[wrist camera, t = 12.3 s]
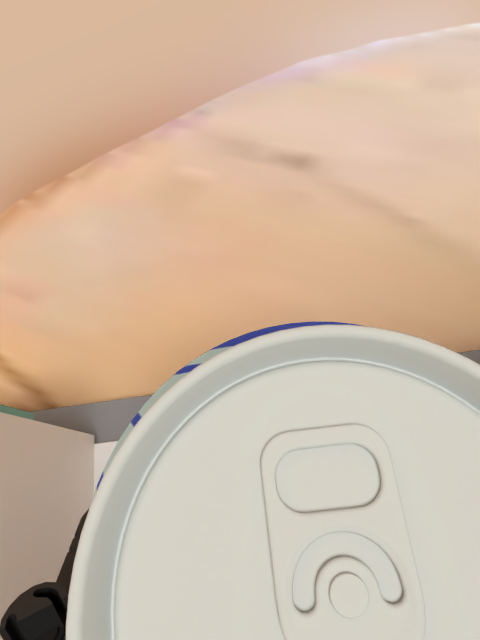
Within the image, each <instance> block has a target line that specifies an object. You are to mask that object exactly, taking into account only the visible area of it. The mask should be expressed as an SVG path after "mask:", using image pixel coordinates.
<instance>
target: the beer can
mask: <svg viewBox="0 0 480 640" xmlns="http://www.w3.org/2000/svg"><path fill="white" fill-rule="evenodd" d="M66 640H480V365H479V364H477V363H476V362H474V361H472V360H470V359H469V358H467V357H465V356H462V355H460V354H458V353H456V352H454V351H452V350H450V349H447V348H445V347H443V346H440V345H437V344H435V343H432V342H429V341H427V340H424V339H421V338H418V337H414V336H411V335H407V334H404V333H400V332H396V331H391V330H386V329H380V328H375V327H367V326H361V325H356V324H348V323H338V322H302V323H290V324H285V325H279V326H273V327H268V328H265V329H261V330H257V331H254V332H250V333H247V334H245V335H242V336H239V337H237V338H234V339H231V340H229V341H227V342H225V343H223V344H221V345H219V346H217V347H215V348H213V349H211V350H209V351H208V352H206V353H204V354H203V355H201V356H199V357H198V358H196V359H194V360H193V361H192V362H190V363H189V364H188V365H186V366H185V367H183V368H182V369H181V370H179V371H178V372H177V373H176V374H174V375H173V376H172V377H171V378H170V379H169V380H168V381H167V382H165V383H164V384H163V385H162V386H161V387H160V388H159V389H158V390H157V391H156V392H155V393H154V394H153V395H152V397H151V398H150V399H149V400H148V401H147V402H146V403H145V404H144V405H143V407H142V408H141V409H140V411H139V412H138V413H137V414H136V416H135V417H134V418H133V419H132V421H131V422H130V424H129V425H128V427H127V428H126V430H125V431H124V433H123V434H122V436H121V437H120V439H119V441H118V442H117V444H116V446H115V448H114V450H113V452H112V454H111V455H110V457H109V459H108V461H107V463H106V466H105V468H104V470H103V472H102V475H101V477H100V479H99V482H98V484H97V487H96V490H95V493H94V496H93V499H92V502H91V505H90V508H89V511H88V514H87V517H86V520H85V523H84V526H83V529H82V532H81V536H80V540H79V544H78V548H77V552H76V556H75V560H74V564H73V570H72V576H71V582H70V588H69V594H68V606H67V618H66Z"/></svg>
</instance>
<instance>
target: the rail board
mask: <svg viewBox="0 0 480 640" xmlns="http://www.w3.org/2000/svg"><path fill="white" fill-rule="evenodd" d="M458 354H460V355H462V356H465V357H467V358H469V359H470V360H472V361H474V362H476V363H477V364H479V365H480V350H475V351H468V352H461V353H458ZM151 397H152V395H148V396H141V397H134V398H127V399H119V400H112V401H105V402H97V403H90V404H83V405H76V406H68V407H61V408H54V409H47V410H39V411H32V412H26V411H23V410H19V409H15V408H12V407H8V406H4V405H1V404H0V623H1V619H2V617H3V615H4V614H5V612H6V611H7V609H8V607H9V606H10V605H11V604H12V603H13V601H14V600H15V599H16V598H17V597H18V596H19V595H20V594H22V593H23V592H25V591H26V590H28V589H29V588H31V587H32V586H35V585H38V584H41V583H44V582H56V580H57V578H58V575H59V572H60V570H61V567H62V565H63V562H64V560H65V557H66V555H67V552H69V547H70V545H71V542H72V540H73V538H74V537H75V532H76V530H77V527H78V525H79V522H80V520H81V517H82V516H83V515H84V514H85V512H86V511H87V510H88V509H89V507H90V505H91V502H92V499H93V496H94V493H95V490H96V487H97V484H98V482H99V479H100V477H101V475H102V472H103V470H104V468H105V466H106V463H107V461H108V459H109V457H110V455H111V454H112V452H113V450H114V448H115V446H116V444H117V442H118V441H119V439H120V437H121V436H122V434H123V433H124V431H125V430H126V428H127V427H128V425H129V424H130V422H131V421H132V419H133V418H134V417H135V416H136V414H137V413H138V412H139V411H140V409H141V408H142V407H143V405H144V404H145V403H146V402H147V401H148V400H149V399H150V398H151ZM0 640H3V639H2V637H1V635H0Z"/></svg>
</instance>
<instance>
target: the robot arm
mask: <svg viewBox="0 0 480 640" xmlns="http://www.w3.org/2000/svg"><path fill="white" fill-rule="evenodd" d="M89 508H90V507H89ZM88 511H89V509H88V510H87V511H86V512H85V514H84V515H83V516H82V517H81V520H80V522H79V525H78V527H77V530H76V532H75V537H74V538H73V540H72V542H71V545H70V547H69V552H67V555H66V557H65V560H64V562H63V565H62V567H61V570H60V572H59V575H58V578H57V580H56V582H44V583H41V584H38V585H35V586H32V587H31V588H29V589H28V590H26V591H25V592H23V593H22V594H20V595H19V596H18V597H17V598H16V599H15V600H14V601H13V603H12V604H11V605H10V606H9V607H8V609H7V611H6V612H5V614H4V615H3V617H2V619H1V623H0V635H1V637H2V639H3V640H66V618H67V606H68V594H69V588H70V582H71V576H72V570H73V564H74V560H75V556H76V552H77V548H78V544H79V540H80V536H81V532H82V529H83V526H84V523H85V520H86V517H87V514H88Z"/></svg>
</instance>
